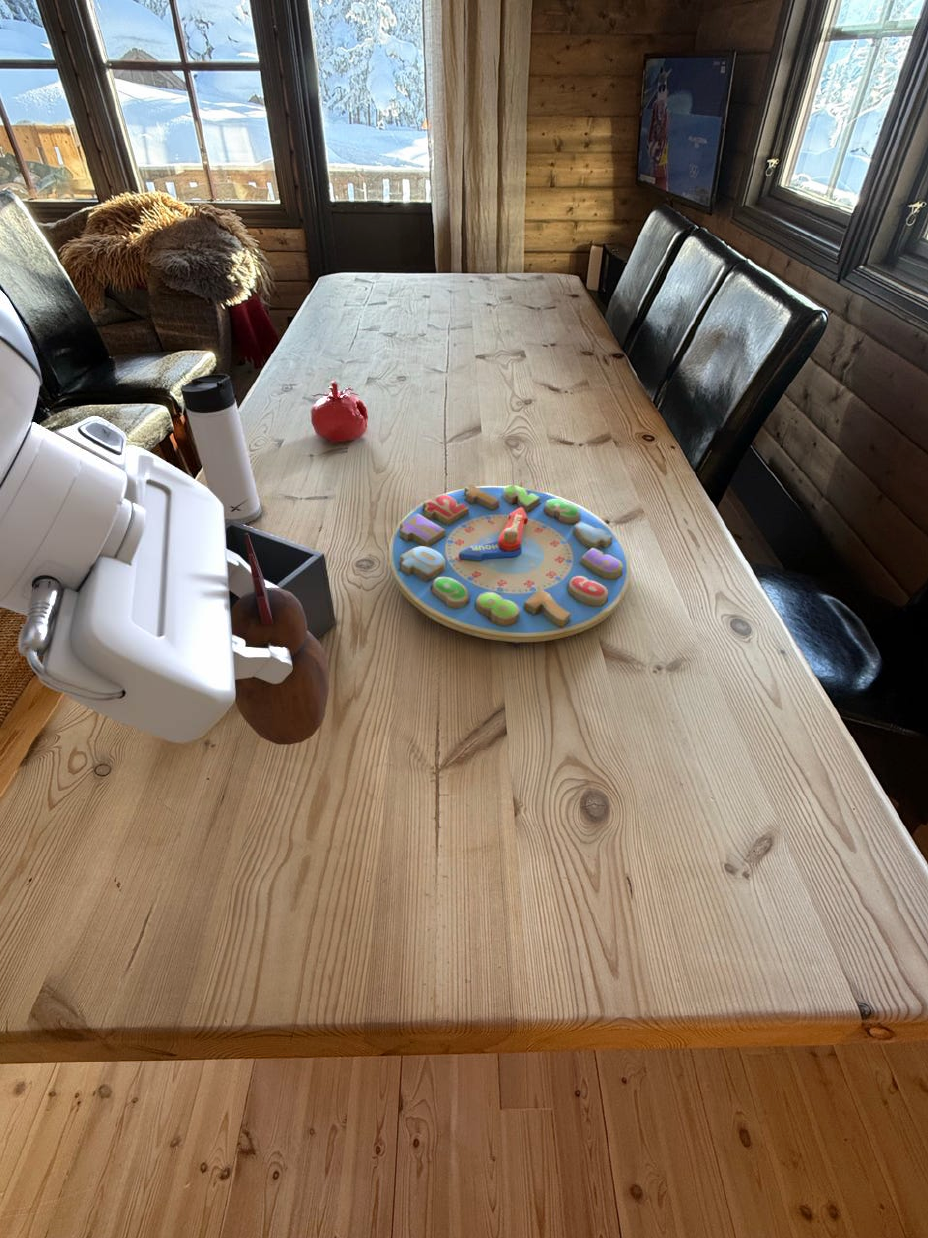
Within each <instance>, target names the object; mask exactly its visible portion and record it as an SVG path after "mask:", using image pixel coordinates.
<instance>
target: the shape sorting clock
mask: <svg viewBox="0 0 928 1238" xmlns="http://www.w3.org/2000/svg"><path fill="white" fill-rule="evenodd" d="M388 562H389V569H390V572H391V575H392V578H393V581H394V583H395V584H396V586H397V588H398V590H399V591H400V593H401V594H402V595H403V596H404V597H405V599H406V600H408V602H409V603H410V604H412V606H414V608H416V609H417V610H418V611H420V612H421V613H422V614H424V615H425V616H427V617H428V618H429V619H431V620H433V621H435V622H436V623H439V624H441V625H442V626H445V627H447V628H449V629H453V630H455V631H457V632H460V633H464V634H467V635H470V636H474V637H477V638H480V639H481V638H482V639H487V640H493V641H498V642H509V643H514V644H516V645H518V644H520V643H538V642H546V641H547V642H548V641H553V640H558V639H563V638H567V637H571V636H575V635H577V634H579V633H583V632H585V631H588V630H590V629H591V628H593V627H595V626H597V625H599V624H601V623H602V622H603V621H605V620H606V619H607V618H608V617H610V615H612V614H613V613H614V612H615V611H616V610H617V609H618V608H619V606H620V604H621V603H622V602H623V600H624V598H625V596H626V594H627V591H628V588H629V584H630V581H631V577H632V576H631V575H632V567H631V560H630V557H629V555H628V552H627V548H626V546H625V545H624V543H623V542H622V540H621V539H620V537H619V536H618V534H617V533H616V532H615V531H614V530H613V529H612V528H611V526H609V525H608V524H607V523H606V521H604V520H602V519H601V518H600V517H599V516H598V515H596V514H595V513H594V512H592V511H590V510H589V509H588V508H585V507H583V506H582V505H580V504H577V503H576V502H574V501H571V500H568V499H566V498H563V497H561V496H558V495H556V494H553V493H550V492H547V491H541V490H538V489H533V488H527V487H522V486H519V485H515V484H510V485H509V484H508V485H480V486H474V485H473V484H470V485H468V486H465V488H460V489H454V490H451V491H447V492H445V493H442V494H437V495H435V496H434V497H431V498H429V499H427V500H425V501H423V502H421V503H419V504H418V505H417V506H415V507H414V508H413V509H412V510H410V511H409V512H408V513H407V514H406V515H404V517H403V518H402V519H401V520H400V522H399V523H398V525H397V526H396V528H395V529H394V531H393V533H392V534H391V538H390V540H389V545H388Z"/></svg>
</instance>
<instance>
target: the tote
mask: <svg viewBox="0 0 928 1238" xmlns="http://www.w3.org/2000/svg"><path fill="white" fill-rule="evenodd" d="M246 533H248V535H249V538H250V541H251V544H252V547H253V550H254V552H255V555H256V558H257V561H258V564H259V567H260V570H261V573H262V576H263V579H264V580H266V581H268V582H270V583H272V584H274V585H276V586H278V587H279V588H280V589H283V590H286V591H288V592H290V593H292V594H293V595H294V596H295V597H296V598H297V599H298V601H299V602H300V603H301V605H302V608H303V610H304V613H305V617H306V621H307V630H308V631H309V632H310V633H311V634H312V635H313V636H314V637H315V638H316V639H317V641H319V639H320V638H321V637H322V636H324V634H326V633H327V632H328V631H329V630H330V629H331V628H332V627H333V626H334V625H335V624H336V623H337V621H336V615H335V609H334V603H333V598H332V591H331V586H330V580H329V574H328V569H327V562H326V556H325V553H324V552H321V551H318V550H315V549H312V548H310V547H307V546H304V545H301V544H299V543H296V542H293V541H290V540H287V539H285V538H282V537H280V536H276V535H274V534H271V533H268V532H266V531H262V530H259V529H257V528H254V527H252V526H248V525H246V524H240V523H238V522H235V521H232V520H231V521H230V522H228V523H227V524H225V535H226V549H228V550H230V551H232V552H234V553H235V554H237V555H239V556H240V557H241V558H242V559H243V560H244V561H245V562H246V563H247V564H248V565H249V566H250V562H249V556H248V550H247V544H246V538H245V534H246ZM229 598H230V613H231V610H232V608H233V606H234V604H235V603H236V602H237V601H238V599H240V597H238V596H237V595H235V594H234V593H233V592H231V591H230V590H229Z"/></svg>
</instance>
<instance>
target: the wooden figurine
mask: <svg viewBox="0 0 928 1238" xmlns="http://www.w3.org/2000/svg"><path fill="white" fill-rule="evenodd" d="M245 538H246V544H247V550H248V556H249V562H250V568H251V573H252V579H253V585H254V590H253V591H251V592H249V593H246V594H245V595H243V596H242V597H241V598H240V599H238V601H237V602H236V603H235V604H234V606H233V608H232V610H231V613H230V614H231V629H232V635H235V636H237V637H239V638H242V639H244V640H245V644H246V646H245V647H248V648H262V647H263V646H264V645H265V643H266V642H267V641H268V640H269V641H272V642H274V643H276V644H278V645H279V646H280V647H285V648H287V649H289V651H290V654H291V660H292V667H293V670H292V672H291V673H290V674H289V675H288V676H287V677H286V678H285V679H284V680H283V681H282V682H281V683H278V684H272V683H269V682H267V681H264V680H262V679H259V678H257V677H254V676H253V677H251V678H243V679H236V680H235V691H236V696H235V701H234V702H235V703H236V707H237V709H238V712H239V714H240V715H241V716H242V719H243V720H244V721H245V722H246V723H247V725H249V727H250V728H251V729H252V730H253V731H254V732H255V733H256V734H257V735H258V736H259V737H260V738H262V739H264V740H265V741H268V742H269V743H273V744H275V745H278V746H279V745H281V746H284V745H285V746H286V745H287V746H289V745H294V744H300V743H303V742H305V741H306V740H308V739H310V737H312V736H314V735H315V734H316V732H317V731H318V730H319V728H320V727H321V726H322V723H323V721H324V719H325V715H326V711H327V705H328V698H329V691H330V676H329V675H330V674H329V673H330V671H329V664H328V658H327V654H326V652H325V649H324V647H323V645H322V644H321V643H320V641H319V640H317V639H316V638H315V637H314V636H313V635H312V634H311V633H310V632H309V631H308V630H307V621H306V617H305V613H304V610H303V608H302V605H301V603H300V602H299V601H298V599H297V598H296V597H295V596H294V595H293V594H292V593H290V592H288V591H286V590H283V589H280V588H277V587H266V584H265V582H264V579H263V576H262V573H261V570H260V567H259V564H258V561H257V558H256V555H255V552H254V550H253V547H252V544H251V541H250V538H249V535H248V533H246V534H245Z"/></svg>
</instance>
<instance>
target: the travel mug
mask: <svg viewBox="0 0 928 1238" xmlns="http://www.w3.org/2000/svg"><path fill="white" fill-rule="evenodd" d="M232 384H233V383H232V379H231V377H230V376H229V375H228V374H225V373H213V374H206V375H203V376H198V377H195V378H193V379H191V381H189V382H187V383H186V384H182V385H181V386H180V392H181V395H182V399H183V401H184V408H185V411H186V415H187V418H188V422H189V425H190V428H191V432H192V436H193V440H194V442H195V443H194V444H195V447H196V450H197V453H198V457H199V460H200V462H201V467H202V470H203V474H204V477H205V481H206V484H207V488H208V489H209V490H210V491H211V492H212V493H213V494H214V495H215V496H216V497H217V498H218V499H219V501H220V502H221V503H222V504H223V506H224V519H225V524H227V523H228V522H230V521H231V520H232V521H235V522H238V523H240V524H243V525H246V524H249V523H252V522H253V521H256V519H258V518H259V517H260V515H261V513H262V508H261V503H260V498H259V495H258V490H257V486H256V481H255V477H254V473H253V469H252V464H251V460H250V456H249V452H248V447H247V443H246V438H245V435H244V430H243V426H242V422H241V417H240V414H239V413H240V412H239V410H238V409H239V408H238V405H237V401H236V398H235V394H234V389H233V386H232Z"/></svg>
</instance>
